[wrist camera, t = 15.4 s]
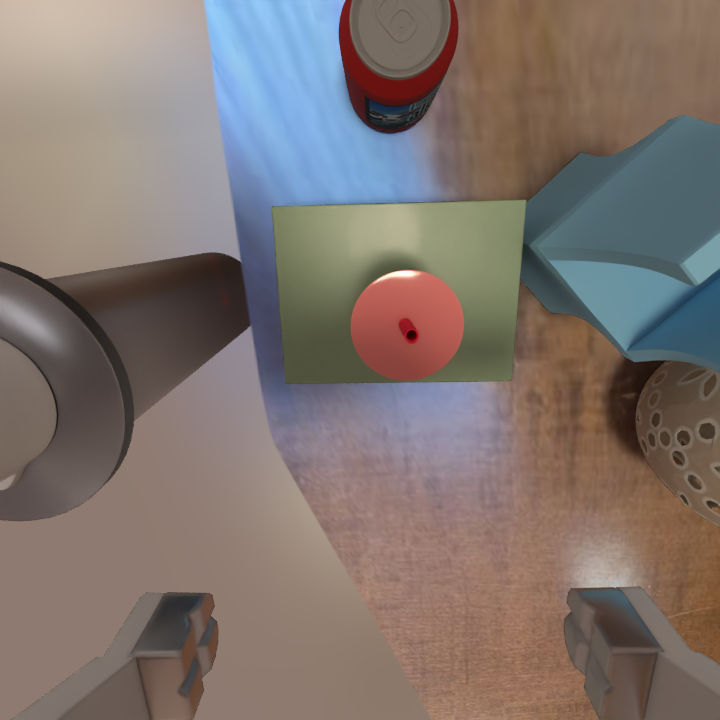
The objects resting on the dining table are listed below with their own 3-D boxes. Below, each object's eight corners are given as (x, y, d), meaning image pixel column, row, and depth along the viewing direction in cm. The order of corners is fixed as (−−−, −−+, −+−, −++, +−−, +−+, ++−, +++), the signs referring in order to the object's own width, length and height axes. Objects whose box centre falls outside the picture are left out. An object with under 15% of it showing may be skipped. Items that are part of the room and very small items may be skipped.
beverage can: (388, 154, 36) (396, 120, 25) (330, 86, 35) (309, 18, 23) (452, 88, 35) (491, 20, 23) (393, 15, 33) (404, -95, 22)
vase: (486, 240, 38) (676, 264, 14) (581, 151, 36) (1000, 0, 12) (557, 321, 40) (833, 466, 16) (651, 242, 38) (1139, 270, 14)
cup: (388, 239, 28) (398, 249, 17) (454, 288, 29) (506, 328, 18) (341, 307, 30) (321, 358, 18) (405, 352, 31) (425, 427, 19)
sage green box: (305, 347, 41) (285, 384, 32) (297, 211, 38) (271, 206, 28) (479, 344, 41) (512, 381, 31) (487, 206, 37) (526, 199, 28)
